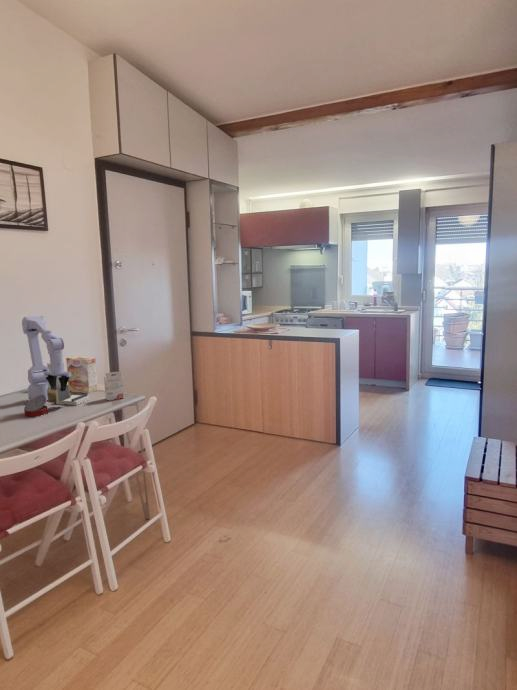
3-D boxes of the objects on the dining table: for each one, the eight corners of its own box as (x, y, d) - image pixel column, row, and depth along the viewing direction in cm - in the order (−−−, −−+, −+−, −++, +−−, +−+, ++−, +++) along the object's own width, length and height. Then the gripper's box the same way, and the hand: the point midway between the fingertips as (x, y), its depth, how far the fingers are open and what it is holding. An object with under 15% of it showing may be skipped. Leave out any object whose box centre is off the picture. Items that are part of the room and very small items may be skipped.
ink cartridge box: (121, 396, 243) (120, 369, 241) (123, 398, 239) (122, 371, 237) (105, 398, 239) (103, 371, 237) (106, 400, 235) (105, 373, 233)
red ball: (48, 423, 214) (50, 407, 210) (24, 425, 209) (25, 408, 204) (45, 407, 222) (47, 391, 218) (22, 408, 217) (24, 392, 212)
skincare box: (50, 389, 261) (48, 364, 259) (48, 387, 266) (46, 362, 264) (65, 387, 266) (63, 362, 264) (63, 385, 271) (61, 361, 268)
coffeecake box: (68, 391, 256) (65, 357, 253) (77, 388, 262) (75, 355, 259) (88, 393, 250) (86, 359, 247) (98, 390, 257) (95, 357, 254)
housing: (62, 397, 228) (61, 384, 227) (70, 397, 226) (69, 384, 225) (48, 402, 218) (46, 389, 217) (56, 403, 217) (55, 389, 216)
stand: (53, 403, 231) (53, 398, 230) (68, 398, 241) (67, 392, 241) (76, 405, 227) (76, 399, 227) (90, 399, 237) (90, 394, 237)
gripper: (38, 364, 218) (40, 391, 220) (63, 365, 214) (65, 393, 216) (48, 361, 224) (51, 388, 226) (73, 362, 220) (75, 389, 222)
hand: (58, 390), depth 221 cm, fingers closed on housing, 5 cm apart
